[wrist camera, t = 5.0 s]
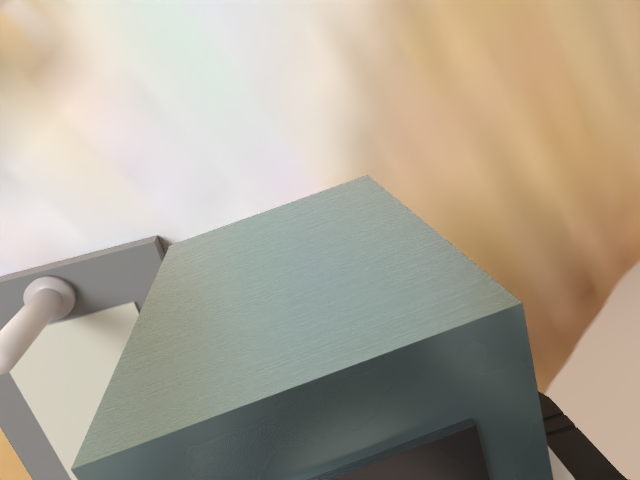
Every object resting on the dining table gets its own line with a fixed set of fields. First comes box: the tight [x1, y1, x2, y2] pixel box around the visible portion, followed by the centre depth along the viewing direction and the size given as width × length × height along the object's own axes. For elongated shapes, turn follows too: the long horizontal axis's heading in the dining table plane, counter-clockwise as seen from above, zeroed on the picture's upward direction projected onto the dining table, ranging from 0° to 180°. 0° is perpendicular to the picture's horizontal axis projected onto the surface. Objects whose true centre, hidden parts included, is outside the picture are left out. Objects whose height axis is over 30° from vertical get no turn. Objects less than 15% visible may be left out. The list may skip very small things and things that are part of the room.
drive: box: [71, 175, 554, 480], centre depth 12 cm, size 6×12×8 cm, turn 18°
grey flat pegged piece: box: [0, 236, 165, 480], centre depth 29 cm, size 14×20×8 cm
